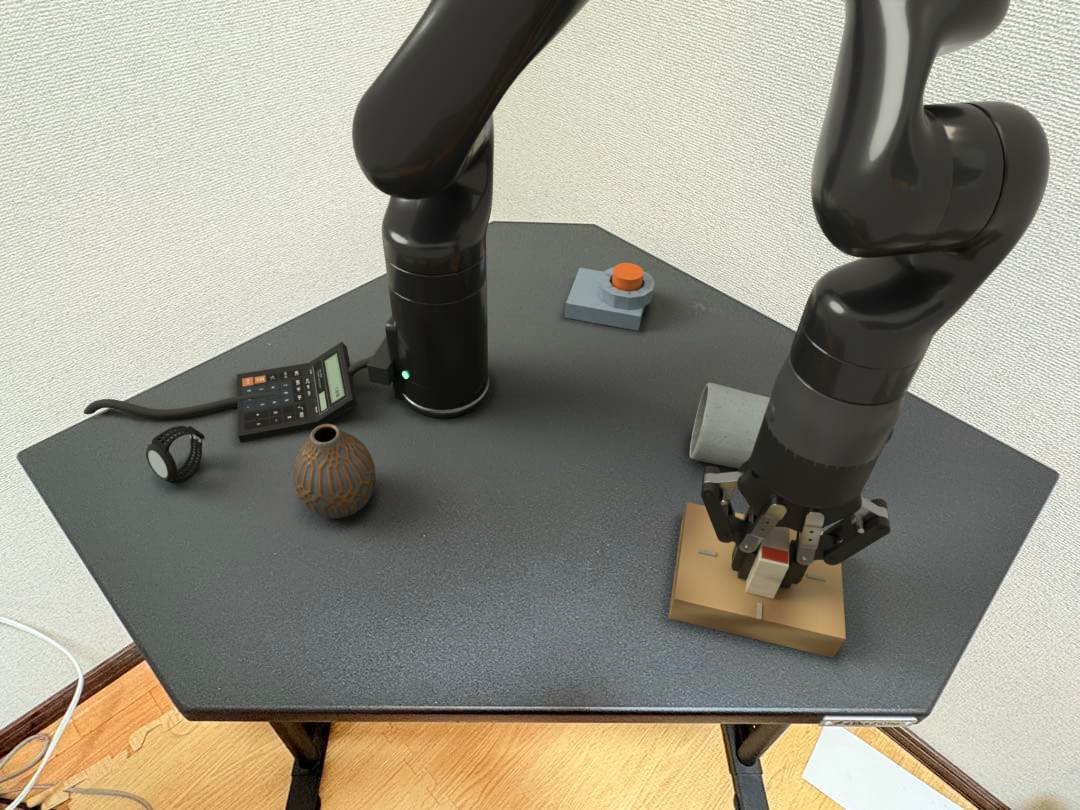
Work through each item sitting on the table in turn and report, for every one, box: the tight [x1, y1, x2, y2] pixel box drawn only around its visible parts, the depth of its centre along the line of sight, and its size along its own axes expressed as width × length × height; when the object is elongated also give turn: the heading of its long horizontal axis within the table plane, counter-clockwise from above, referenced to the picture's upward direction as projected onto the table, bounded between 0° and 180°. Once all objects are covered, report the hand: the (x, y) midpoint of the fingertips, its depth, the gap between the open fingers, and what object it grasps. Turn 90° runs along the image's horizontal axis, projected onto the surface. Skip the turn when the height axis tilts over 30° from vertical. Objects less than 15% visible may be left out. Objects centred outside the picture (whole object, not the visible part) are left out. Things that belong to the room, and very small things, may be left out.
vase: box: [292, 423, 377, 520], centre depth 63 cm, size 7×7×9 cm
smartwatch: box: [145, 425, 206, 484], centre depth 66 cm, size 4×5×5 cm
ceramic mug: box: [689, 382, 770, 470], centre depth 71 cm, size 11×8×8 cm
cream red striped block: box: [746, 527, 790, 599], centre depth 58 cm, size 6×2×5 cm, turn 165°
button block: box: [564, 266, 656, 332], centre depth 88 cm, size 10×8×4 cm
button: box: [612, 262, 644, 292], centre depth 86 cm, size 4×4×2 cm
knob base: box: [668, 501, 847, 659], centre depth 60 cm, size 13×10×3 cm
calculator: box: [236, 341, 359, 443], centre depth 75 cm, size 9×12×3 cm
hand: (762, 573), depth 59 cm, fingers closed
